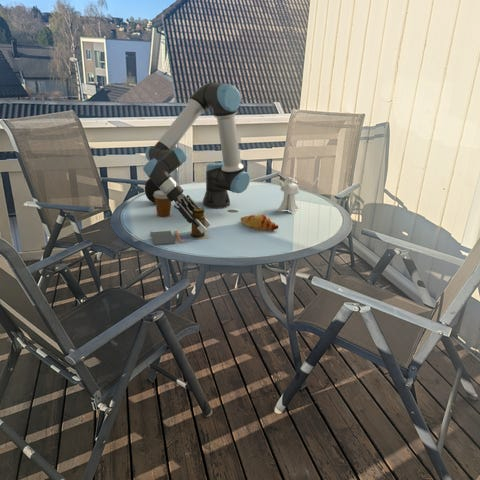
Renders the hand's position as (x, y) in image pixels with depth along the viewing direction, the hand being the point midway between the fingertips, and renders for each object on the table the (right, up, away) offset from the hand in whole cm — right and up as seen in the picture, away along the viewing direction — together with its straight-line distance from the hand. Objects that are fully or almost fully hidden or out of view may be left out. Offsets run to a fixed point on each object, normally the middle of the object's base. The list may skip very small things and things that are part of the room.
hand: (206, 228), depth 185 cm
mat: (-19, -4, -4) cm, 20 cm away
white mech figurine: (+42, +11, +40) cm, 59 cm away
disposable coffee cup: (-24, +7, +25) cm, 35 cm away
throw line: (-12, -4, -2) cm, 13 cm away
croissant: (+24, +1, +15) cm, 29 cm away
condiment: (-4, -3, +1) cm, 5 cm away
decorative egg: (-31, +15, +43) cm, 55 cm away
